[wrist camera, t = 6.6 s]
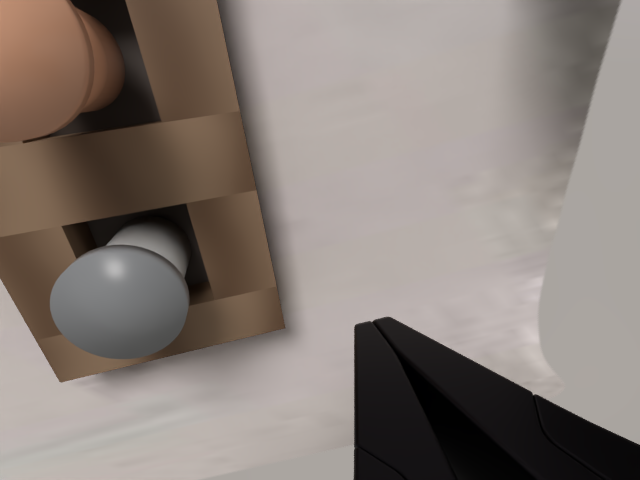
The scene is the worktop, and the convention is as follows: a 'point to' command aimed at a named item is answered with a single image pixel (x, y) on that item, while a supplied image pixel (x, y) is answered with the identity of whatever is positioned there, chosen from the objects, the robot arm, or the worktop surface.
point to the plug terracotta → (53, 67)
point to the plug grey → (126, 291)
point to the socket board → (144, 184)
